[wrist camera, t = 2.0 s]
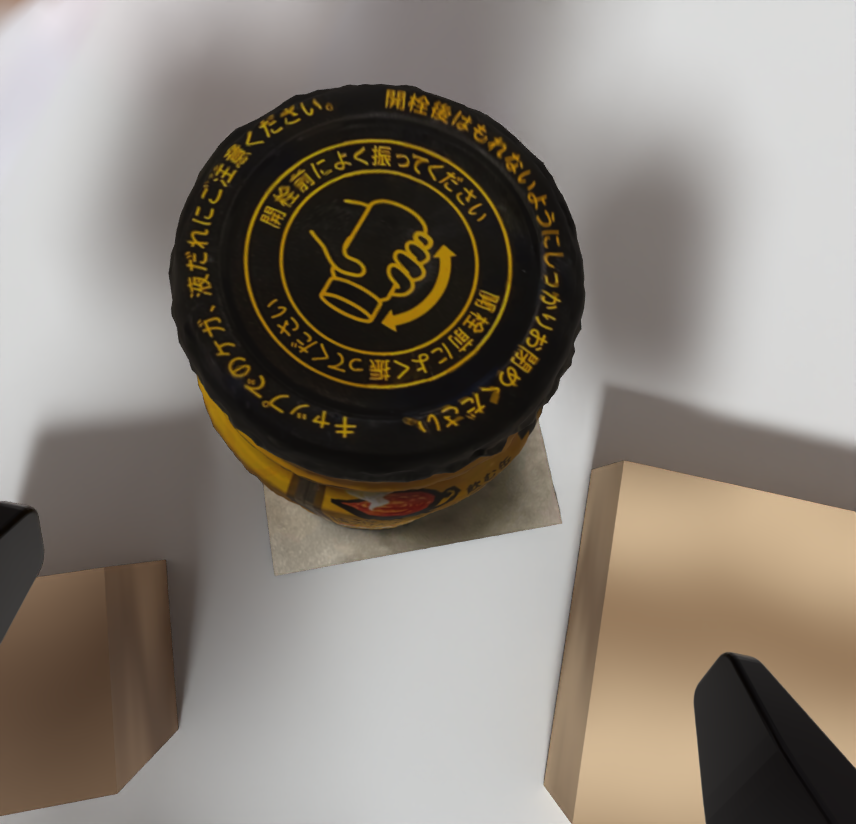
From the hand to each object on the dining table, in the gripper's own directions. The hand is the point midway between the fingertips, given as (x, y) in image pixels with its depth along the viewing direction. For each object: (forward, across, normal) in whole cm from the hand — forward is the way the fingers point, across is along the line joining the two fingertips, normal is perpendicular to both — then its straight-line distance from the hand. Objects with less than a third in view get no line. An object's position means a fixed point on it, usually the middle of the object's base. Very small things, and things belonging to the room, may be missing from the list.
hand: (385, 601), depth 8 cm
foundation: (+7, -13, +8) cm, 17 cm away
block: (+5, +7, +10) cm, 13 cm away
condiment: (+10, 0, +5) cm, 12 cm away
